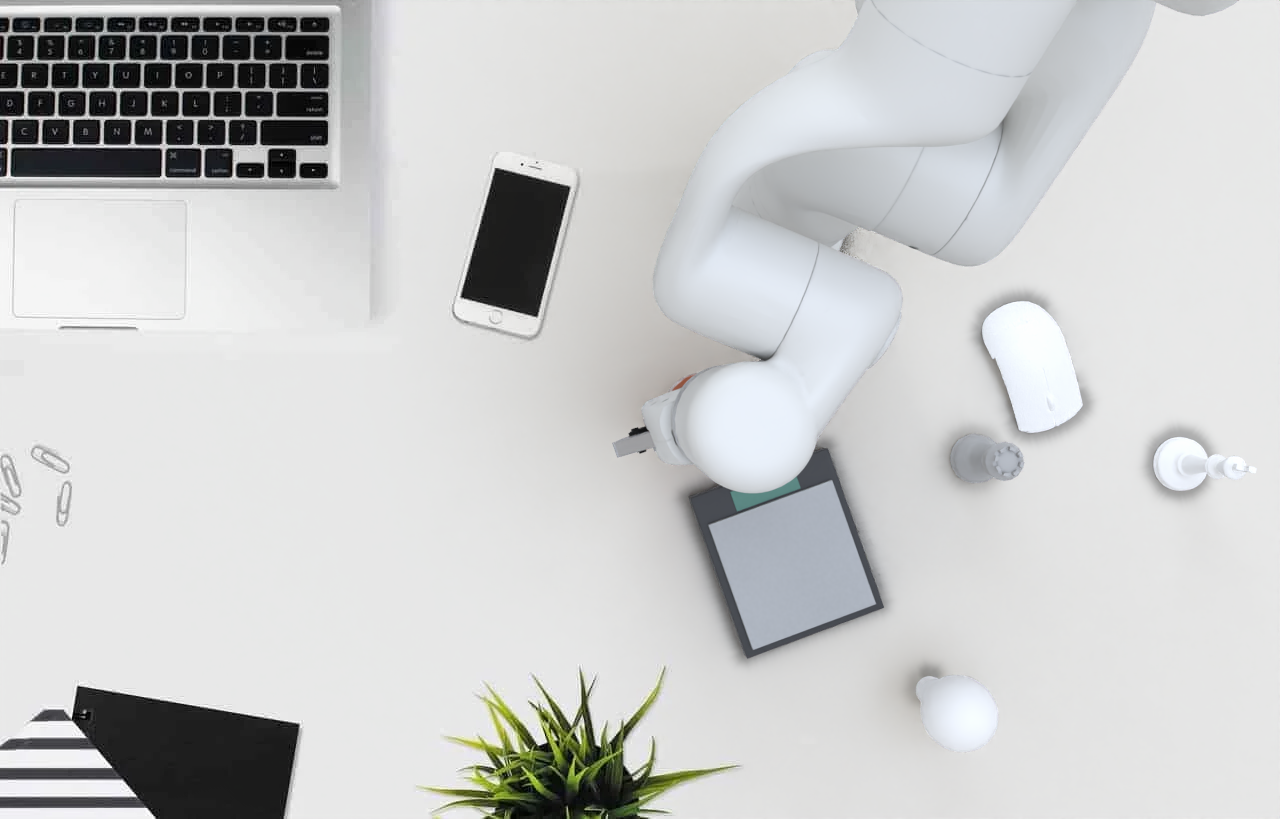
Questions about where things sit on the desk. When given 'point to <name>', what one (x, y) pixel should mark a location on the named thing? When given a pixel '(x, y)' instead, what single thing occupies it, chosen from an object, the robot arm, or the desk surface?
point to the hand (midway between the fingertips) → (702, 412)
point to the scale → (787, 557)
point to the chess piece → (1193, 464)
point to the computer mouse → (1033, 365)
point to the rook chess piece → (985, 459)
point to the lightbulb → (957, 712)
